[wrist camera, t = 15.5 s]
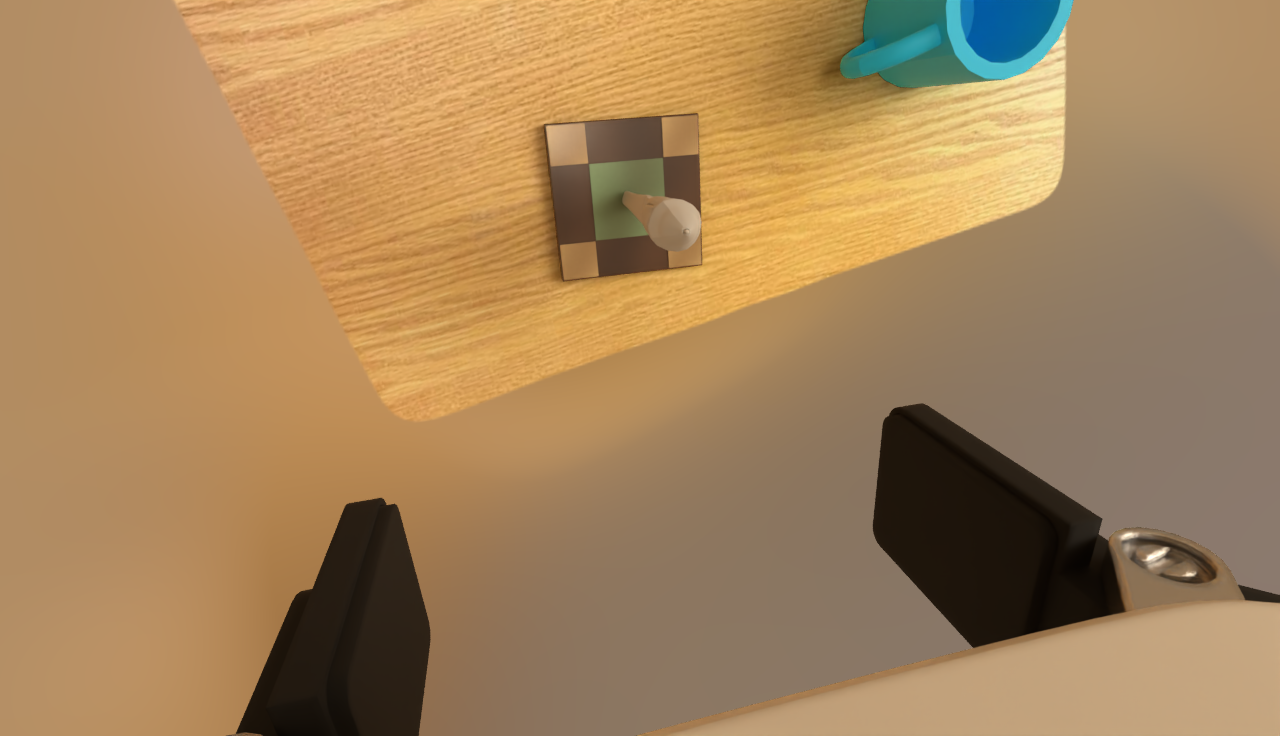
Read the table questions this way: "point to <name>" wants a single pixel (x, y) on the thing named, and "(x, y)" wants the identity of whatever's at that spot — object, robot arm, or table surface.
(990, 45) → the mug
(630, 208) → the beige tapered rod
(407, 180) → the table surface
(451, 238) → the table surface
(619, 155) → the board
